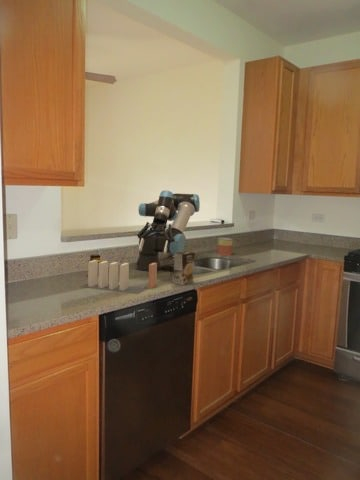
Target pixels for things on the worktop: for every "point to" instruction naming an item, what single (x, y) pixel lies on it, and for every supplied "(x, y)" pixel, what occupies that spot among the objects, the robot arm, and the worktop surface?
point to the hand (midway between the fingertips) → (152, 251)
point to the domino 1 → (92, 273)
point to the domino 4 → (124, 276)
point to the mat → (129, 290)
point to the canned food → (224, 246)
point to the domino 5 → (152, 275)
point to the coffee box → (183, 268)
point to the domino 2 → (103, 274)
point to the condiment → (95, 258)
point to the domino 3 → (113, 275)
